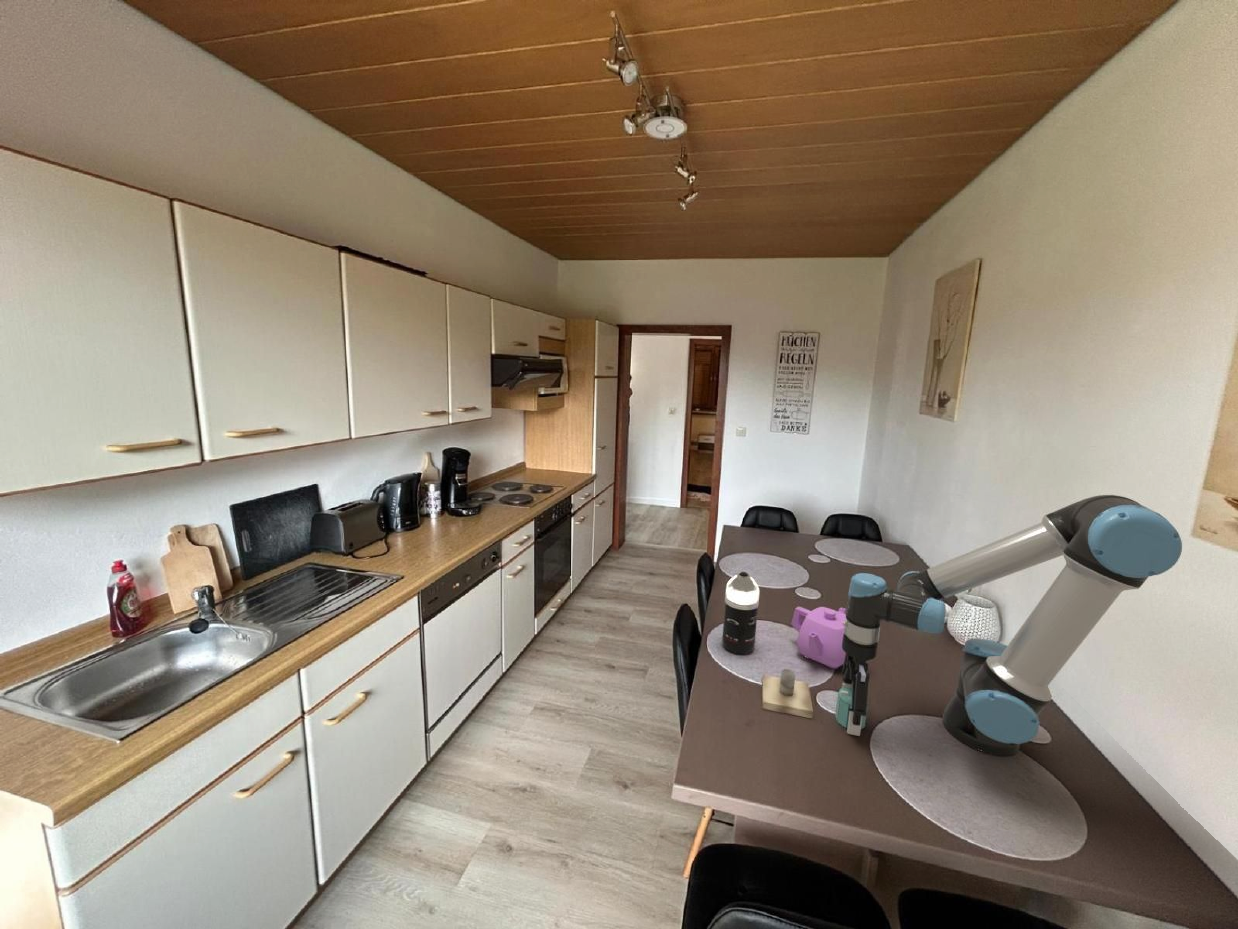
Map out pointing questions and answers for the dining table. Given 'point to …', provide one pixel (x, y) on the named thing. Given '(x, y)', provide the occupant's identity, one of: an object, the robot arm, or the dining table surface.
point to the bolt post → (786, 695)
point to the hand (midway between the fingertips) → (849, 719)
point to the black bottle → (740, 614)
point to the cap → (845, 707)
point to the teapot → (821, 634)
